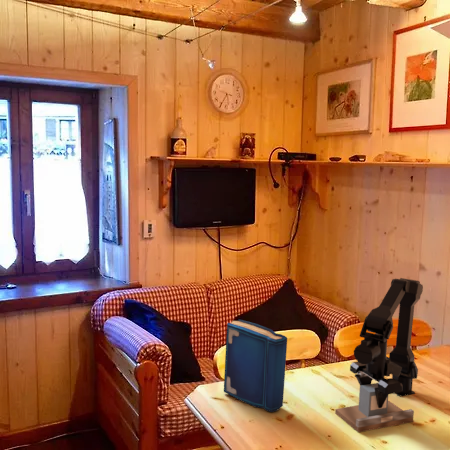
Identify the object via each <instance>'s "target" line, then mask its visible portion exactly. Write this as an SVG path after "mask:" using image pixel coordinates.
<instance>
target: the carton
mask: <svg viewBox="0 0 450 450" xmlns="http://www.w3.org/2000/svg"><path fill="white" fill-rule="evenodd" d="M378 383H379V382H376V383H375V382H374V383H371V384H368V385H361V386H360V385H359V395H358V396H359V397H358V405H359V409H358V410H359V411H360V412H362V413H363V414H364V415H366V416H367V417H371V416H376V415H382V414H387V409H388V401H389V395H388V396H387V398H386V400H385V402H384V404H383V406H382V408H378V405H377V400H376V394H375V389H374V388H378Z"/></svg>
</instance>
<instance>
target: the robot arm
mask: <svg viewBox="0 0 450 450" xmlns="http://www.w3.org/2000/svg"><path fill="white" fill-rule="evenodd" d="M423 290H424V287H423V284H422V283H421V281H420V280H415V279H410V278H402V277H400V278H392V279H391V283H390V286H389V288H388V290H387V292H386V293H385V295H384V297H383V298H382V300H381V301H380V303H379V305H378V306H377V307H375V308H373V309H371V310H370V312H369V313H368V314H367V315H366V317H365V318H364V321H363V324H362V327H361V331H360V333H359V337H360V338H363V339H361V340H360V344H358V345H357V346H356V347H354V350H353V357H354V358H355V360H356V361H352V363H351V364H350V366H349V371H350V372H351V373H353V374H354V377H355V378H356V380H357V382H358V384H359V387H360V386H361V385H368V384H372V382H373V380H374V381H375V382H376V383H378V388H374V389H375V394H376V400H377V405H378V408H382V406H383V404H384V402H385V400H386V398H387V396H388V397H389V395H392V394H396V395H397V396H399V397H405V396H410V395H415V394H416V392H415V391H414V390H413V383H414V379H415V380H416V379H417V380H418V374H419V369H418V366H417V365H416V364H417V363H416V362H415V354H414V352H413V350H412V347H411V343H412V335H413V334H412V333H413V326H414V325H413V323H414V312H415V305H417V303H418V302H420V301H419V300H421V296H422V294H423ZM398 306H399V309H398ZM397 309H398V317H397V318H398V320H397V331H396V340H395V341H396V342H395V347H394V348H393V349H392V350H391V351H390V352H389V355H388V356H387V349H388V348H387V347H388V340H389V339H390V337H391V334H392V332H393V330H394V321H393V316H394V314H395V312H396V311H397ZM390 376H391V378H385V377H390Z"/></svg>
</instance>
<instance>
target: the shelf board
mask: <svg viewBox="0 0 450 450" xmlns="http://www.w3.org/2000/svg"><path fill="white" fill-rule="evenodd" d="M358 409H359V404H357V405H351V406H345V407H338V408H335V411H334V413H335V415H337V416H338V417H339V418H340V419H341V420H342V421H343V422H345V423H346V424H347V425H349V427H351V428H352V429H353V430H354V431H356V432H357V433H362V432H366V431H372V430H377V429H382V428H387V427H393V426H397V425H404V424H409V423H413V422H414V413H415V412H414V410H413V409H411V408H410V409H409V408H408V409H405V410H403V409H402V408H401V407H399V406H398V405H396V404H394V403H393V402H391V401H390V400H388V409H387V414H382V415H376V416H371V417H367V416H366V415H364V414H363V413H362V412H360V411H359V410H358Z"/></svg>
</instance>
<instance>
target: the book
mask: <svg viewBox="0 0 450 450" xmlns="http://www.w3.org/2000/svg"><path fill="white" fill-rule="evenodd" d="M225 335H226V339H225V356H224V359H225V360H224V377H223V378H224V380H223V392H224V393H225V394H228V395H229V396H231V397H233V398H234V399H237V400H238V401H241V402H243V403H246V404H248V405H250V406H252V407H254V408H258V409H259V408H260V409H264V410H265V411H266V412H270V413H273V412H277V411H279V410H280V409H281V408H282V407H283V406H284V393H285V392H284V391H285V381H286V380H285V378H286V363H287V349H288V337H287V336H285V335H283V334H281V333H276V332H275V331H273V329H271V328H268V327H266V326H263V325H260V324H258V323H254V322H250V321H246V320H243V319H239V318H238V320H232V321H231V322H227V324H226V334H225Z"/></svg>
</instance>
